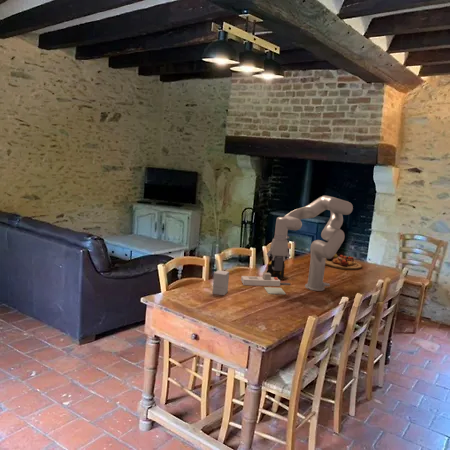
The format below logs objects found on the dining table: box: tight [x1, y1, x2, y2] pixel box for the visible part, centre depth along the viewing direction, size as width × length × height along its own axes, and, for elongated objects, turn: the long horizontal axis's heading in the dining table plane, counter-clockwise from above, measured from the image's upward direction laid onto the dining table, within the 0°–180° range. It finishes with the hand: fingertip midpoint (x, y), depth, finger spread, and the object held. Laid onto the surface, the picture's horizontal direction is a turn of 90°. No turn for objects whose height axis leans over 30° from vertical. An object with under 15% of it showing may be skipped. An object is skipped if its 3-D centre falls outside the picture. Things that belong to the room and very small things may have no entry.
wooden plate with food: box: [325, 253, 363, 271], centre depth 340 cm, size 32×32×8 cm
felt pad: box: [263, 286, 287, 295], centre depth 259 cm, size 11×11×1 cm
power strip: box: [240, 275, 291, 287], centre depth 272 cm, size 32×8×4 cm, turn 98°
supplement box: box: [212, 269, 230, 296], centre depth 246 cm, size 7×7×13 cm
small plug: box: [262, 272, 271, 280], centre depth 271 cm, size 4×4×5 cm
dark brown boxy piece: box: [266, 261, 286, 281], centre depth 288 cm, size 10×10×10 cm
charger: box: [272, 256, 283, 271], centre depth 255 cm, size 5×5×8 cm
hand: (277, 266), depth 256 cm, fingers closed on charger, 5 cm apart
